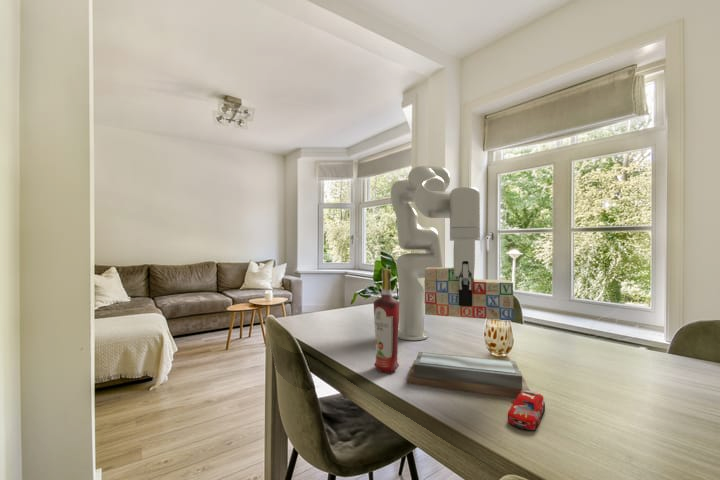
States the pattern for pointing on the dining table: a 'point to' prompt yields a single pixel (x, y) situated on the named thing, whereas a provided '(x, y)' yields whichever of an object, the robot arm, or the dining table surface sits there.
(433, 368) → the build plinth
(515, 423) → the race car
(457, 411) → the dining table surface
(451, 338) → the dining table surface
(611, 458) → the dining table surface
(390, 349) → the liquor
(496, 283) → the stack of blocks
